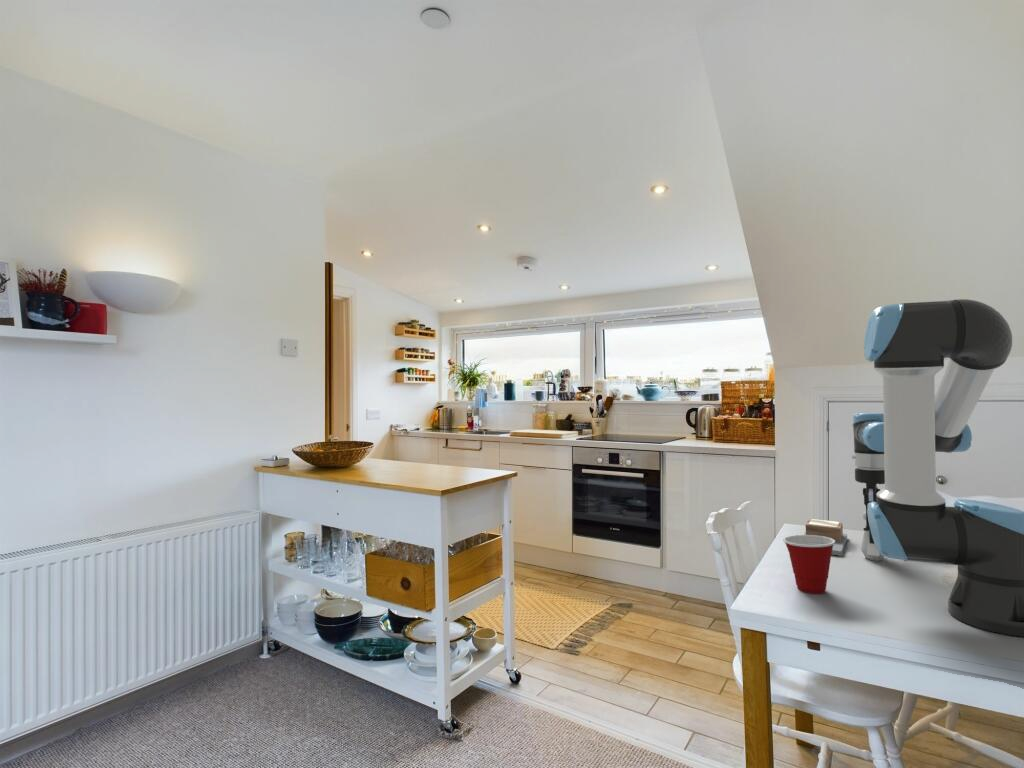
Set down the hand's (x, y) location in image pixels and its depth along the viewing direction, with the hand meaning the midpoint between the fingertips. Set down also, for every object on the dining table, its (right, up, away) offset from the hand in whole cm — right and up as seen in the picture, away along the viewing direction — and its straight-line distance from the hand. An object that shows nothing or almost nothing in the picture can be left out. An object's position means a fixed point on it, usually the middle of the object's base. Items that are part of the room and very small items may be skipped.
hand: (873, 551), depth 144 cm
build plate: (-5, -2, +14) cm, 15 cm away
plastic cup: (-30, -2, -22) cm, 37 cm away
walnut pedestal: (-3, -1, +17) cm, 18 cm away
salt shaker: (0, -2, 0) cm, 2 cm away
